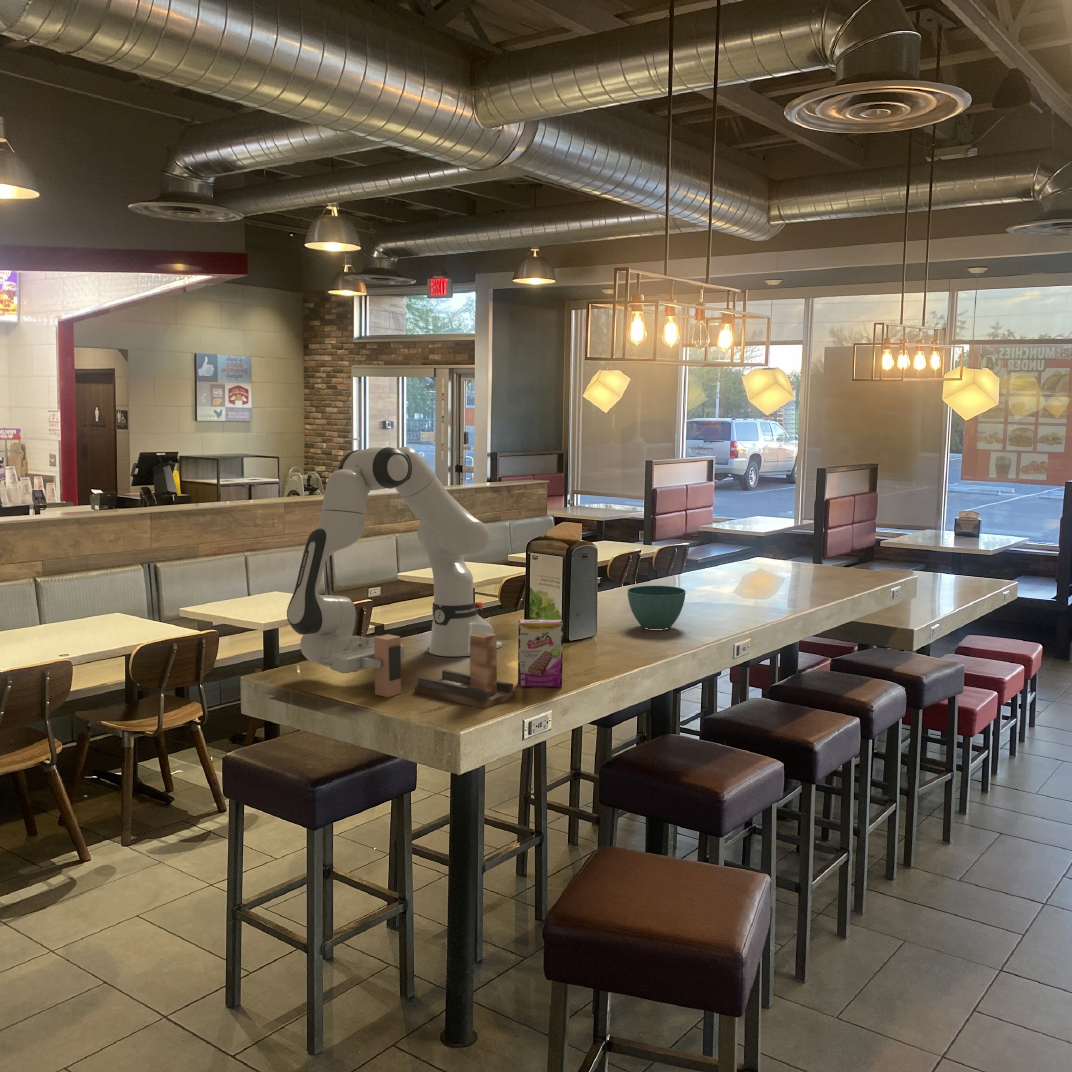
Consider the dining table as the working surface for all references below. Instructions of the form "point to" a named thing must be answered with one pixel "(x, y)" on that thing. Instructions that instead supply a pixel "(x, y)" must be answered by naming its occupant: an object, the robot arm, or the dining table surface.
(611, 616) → the dining table surface
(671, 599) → the dark green round bowl
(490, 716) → the dining table surface
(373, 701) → the dining table surface
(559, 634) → the candy bar box
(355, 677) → the dining table surface
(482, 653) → the wooden stand
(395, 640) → the tall tan pillar
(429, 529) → the robot arm
